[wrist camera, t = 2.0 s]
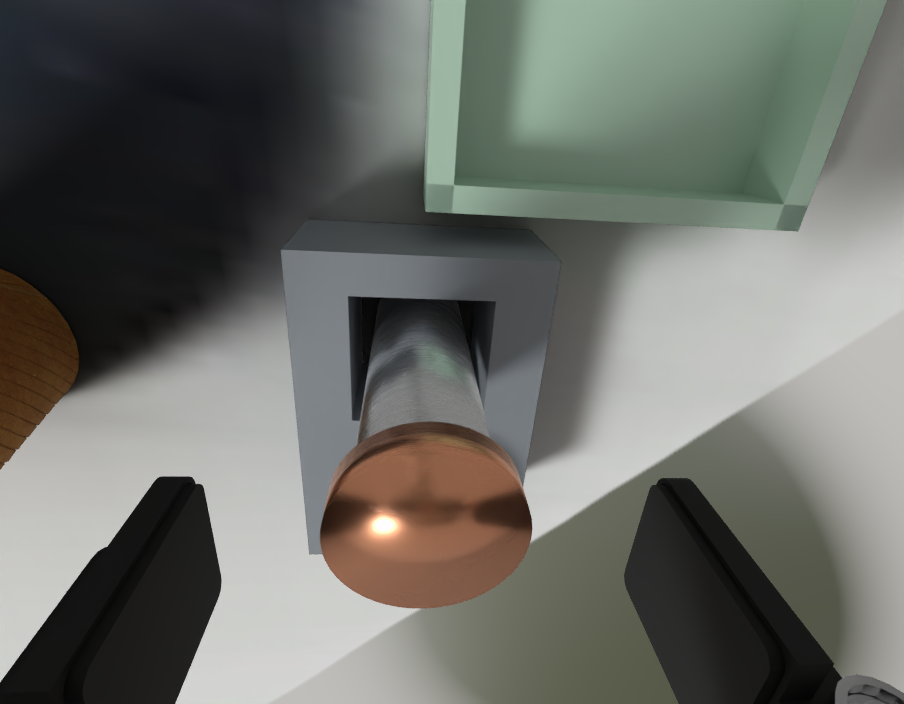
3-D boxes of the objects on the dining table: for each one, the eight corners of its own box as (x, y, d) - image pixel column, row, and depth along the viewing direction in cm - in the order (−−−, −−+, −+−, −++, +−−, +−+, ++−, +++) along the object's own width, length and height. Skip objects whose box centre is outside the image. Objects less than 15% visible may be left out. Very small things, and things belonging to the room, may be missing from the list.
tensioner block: (307, 219, 17) (265, 267, 12) (531, 230, 18) (578, 279, 13) (325, 482, 22) (300, 591, 17) (496, 482, 23) (519, 585, 18)
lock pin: (365, 262, 18) (312, 455, 8) (473, 267, 18) (547, 455, 8) (367, 359, 20) (325, 611, 10) (465, 361, 20) (518, 605, 10)
